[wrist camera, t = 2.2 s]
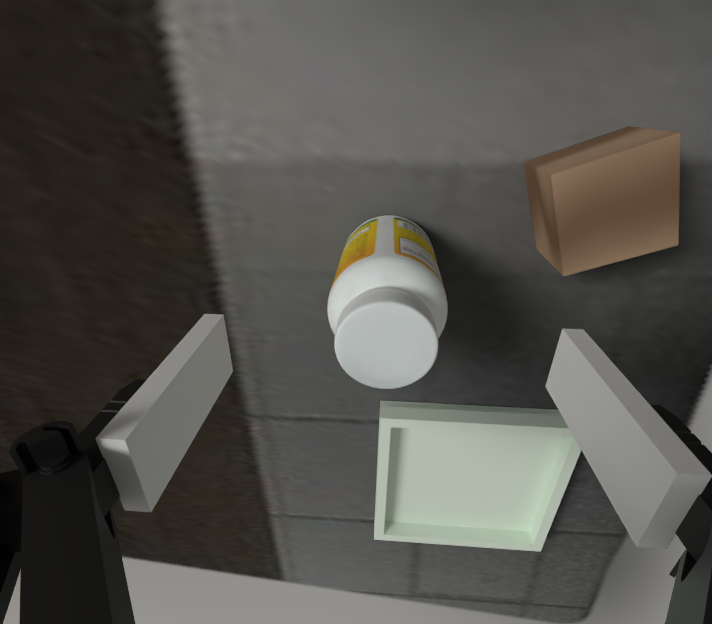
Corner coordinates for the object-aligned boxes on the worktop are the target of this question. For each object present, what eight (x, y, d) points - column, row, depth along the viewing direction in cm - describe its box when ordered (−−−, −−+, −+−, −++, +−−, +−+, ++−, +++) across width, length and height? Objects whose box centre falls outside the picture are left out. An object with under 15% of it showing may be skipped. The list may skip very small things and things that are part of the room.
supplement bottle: (434, 210, 22) (464, 282, 13) (431, 297, 24) (455, 402, 16) (338, 215, 22) (309, 287, 14) (345, 299, 25) (324, 403, 16)
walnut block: (522, 161, 20) (550, 174, 17) (627, 126, 19) (680, 132, 16) (535, 248, 23) (563, 276, 19) (630, 221, 21) (678, 245, 18)
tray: (380, 400, 29) (379, 418, 27) (578, 410, 28) (589, 429, 26) (374, 519, 35) (374, 539, 34) (533, 530, 34) (540, 551, 33)
